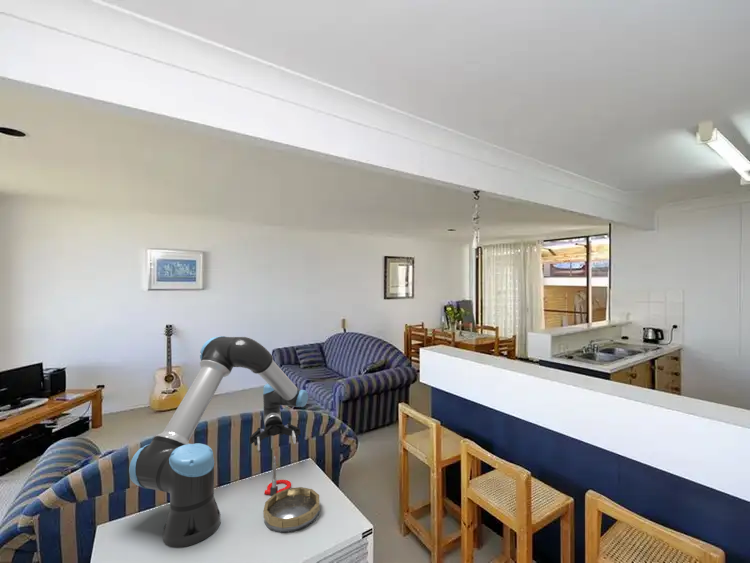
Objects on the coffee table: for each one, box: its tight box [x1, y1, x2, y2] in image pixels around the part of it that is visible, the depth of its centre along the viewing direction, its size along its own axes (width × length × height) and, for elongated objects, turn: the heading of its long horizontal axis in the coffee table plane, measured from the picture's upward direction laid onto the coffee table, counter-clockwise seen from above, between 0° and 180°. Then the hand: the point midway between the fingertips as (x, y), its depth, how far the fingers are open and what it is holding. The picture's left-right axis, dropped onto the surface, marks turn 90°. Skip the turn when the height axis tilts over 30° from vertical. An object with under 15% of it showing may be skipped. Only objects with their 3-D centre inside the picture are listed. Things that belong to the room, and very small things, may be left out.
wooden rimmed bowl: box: [262, 486, 321, 534], centre depth 108 cm, size 17×17×4 cm
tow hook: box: [263, 455, 292, 496], centre depth 123 cm, size 8×13×9 cm
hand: (277, 443), depth 132 cm, fingers open, 13 cm apart
